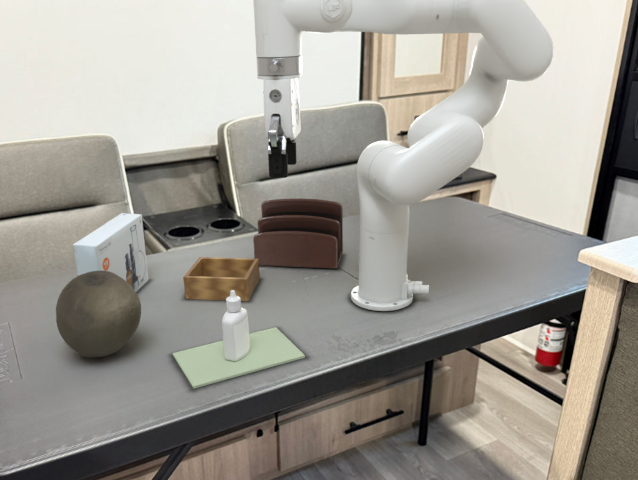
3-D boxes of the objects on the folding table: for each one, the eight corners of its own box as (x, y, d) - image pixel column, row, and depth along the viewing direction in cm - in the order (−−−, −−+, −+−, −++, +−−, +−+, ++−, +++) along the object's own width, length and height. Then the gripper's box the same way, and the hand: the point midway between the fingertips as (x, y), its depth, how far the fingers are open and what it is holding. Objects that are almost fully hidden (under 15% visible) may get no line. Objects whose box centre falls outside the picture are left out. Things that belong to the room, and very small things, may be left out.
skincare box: (108, 322, 119) (95, 246, 112) (83, 320, 120) (68, 244, 113) (151, 280, 137) (142, 212, 131) (129, 278, 138) (118, 211, 132)
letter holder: (264, 251, 151) (261, 196, 146) (343, 254, 148) (343, 198, 142) (254, 266, 143) (250, 208, 137) (337, 270, 139) (337, 210, 133)
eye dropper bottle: (258, 353, 104) (254, 290, 99) (230, 364, 102) (224, 300, 96) (244, 344, 108) (240, 282, 103) (217, 354, 105) (211, 291, 100)
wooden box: (259, 279, 135) (258, 258, 133) (248, 301, 125) (246, 279, 123) (201, 277, 138) (199, 257, 135) (185, 299, 127) (183, 277, 125)
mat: (276, 329, 113) (275, 326, 113) (305, 357, 104) (305, 355, 103) (172, 355, 106) (172, 353, 106) (193, 389, 96) (193, 386, 96)
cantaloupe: (68, 381, 99) (50, 298, 93) (61, 343, 111) (44, 268, 105) (153, 361, 104) (142, 281, 98) (138, 327, 116) (126, 254, 110)
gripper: (293, 72, 92) (297, 182, 99) (308, 63, 108) (310, 160, 115) (245, 73, 93) (252, 182, 101) (267, 64, 109) (271, 160, 116)
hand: (283, 170), depth 108 cm, fingers open, 9 cm apart
